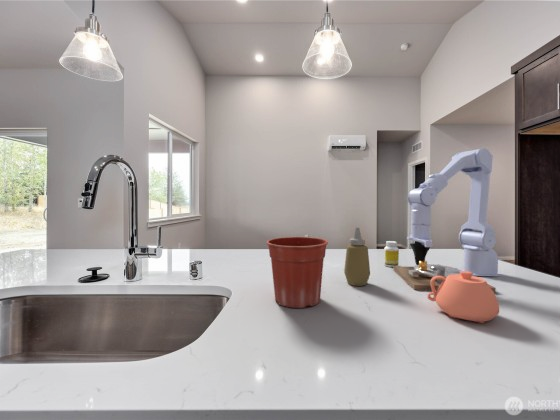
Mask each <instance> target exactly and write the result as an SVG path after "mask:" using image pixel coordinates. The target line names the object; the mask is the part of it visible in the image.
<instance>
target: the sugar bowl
mask: <svg viewBox="0 0 560 420" xmlns="http://www.w3.org/2000/svg"><path fill="white" fill-rule="evenodd" d="M472 275H473V273H472V272H469V271H460V274H451V275H449V276H447V277H446V278H445V277H443V276H435V277H433V278H432V279H431V282H430V284H431V288H432V292H431V291H430V292H428V293H427V299H428V300H430V301H431V302H436V304H437V306H438V307H439V308H440V310H441V311H442V312H444V313H446V314H447V315H448V317H450V318H453V319H454V318H455V319H461V320H465V321H470V322H475V323H480V324H484V323H485V322H489V321H491V320H493V319H494V318H496V317H497V316H499V313H500V304H499V300H498V298H497V296H496V293H494V292H493V291H492V289H491V288H490V286H489V285H490V284H489V283H488V282H487V281H486V280H485V279H484V278H482V277H480V276H472ZM436 279H442V280H444V281H443V282H442V283H441V285H440V286H439V288H438V290H437V291H436V290H435V287H434V281H435V280H436ZM488 284H489V285H488ZM431 295H432V296H433V297H431Z"/></svg>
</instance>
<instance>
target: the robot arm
mask: <svg viewBox="0 0 560 420" xmlns="http://www.w3.org/2000/svg"><path fill="white" fill-rule="evenodd" d="M492 168H493V154H492V153H491V151H490V150H489V149H488V148H486V147H481V148H479V149H478V148H477V149H474V150H467V151H459V152H457V153H456V154H455V155H453V156H452V157H451V160H450V162H449V163H448V164H447V165H446V166H445V167H444V168H442V169H441V171H440V172H439V173H433V174H430V175H428V179H426V180H424V182H423V183H420V184H419V187H418V188H413V189H412V190H410V192H409V193H408V196H407V198H406V199H407V202H408V204H409V209H410V211H411V212H410V220H411V221H410V223H411V224H410V234H409V236H407V237H406V239H407V240H408V241H413V242H414V243H413V242H411V243H409V245H410V248H411V249H412V251H413V255H414V261H415V262H414V263H415V266H416V265H419V260H424V261H426V256H427V254H428V252H429V250H430V249H431V248H433V242H434V241H433V240H432V237H431V228H432V227H431V225H432V223H431V221H432V218H431V216H432V205H434V204H435V202H436V200H437V196H438V195H439V194H440V193H441V192H442V191H443V190H444V189H445V188H446V187H447V186H448V185H449V184H448V183H449V180H450V179H451V178H453V177H454V176H455V175H457V174H458V173H459V172H461V173H463V174H465V175H467V176H469V178H471V179H470V191H469V192H470V193H469V205H468V217H467V218H468V219H467V221H466V222H465V223H464V224H462V225H461V227H460V232H459V233H458V242H459V244H461V245H460V246H461V248H463V268H458V269H459V270H461V271H469V272H472V273H473V275H472V276H476V277H500V274H499V273H498V271H499V269H498V268H499V257H498V253H497V252H496V251H495V250H494V249H493V248H494V247H495V246H496V243H497V240H496V239H497V238H496V235H495V228H494V227H493V226H491V225H490V224H489V223H488V222H487V220H488V207H489V193H490V182H491V172H492Z"/></svg>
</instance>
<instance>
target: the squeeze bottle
mask: <svg viewBox="0 0 560 420" xmlns="http://www.w3.org/2000/svg"><path fill="white" fill-rule="evenodd" d="M365 244H366V239H365V238H362V234H361V229H360V227H355V229H354V233H353V236H352V238H349V245H347V246H346V252H345V261H344V263H345V264H344V269H343V270H344V271H343V272H344V276H345V279H346V281H347V284H349V285H351V286H355V287H356V286H357V287H361V286H363V287H364V286H366V285H367V284H368V281H369V278H370V276H371V270H370V269H371V268H370V257H369V256H370V255H369V248H368V246H367V245H365Z"/></svg>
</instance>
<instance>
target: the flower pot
mask: <svg viewBox="0 0 560 420" xmlns="http://www.w3.org/2000/svg"><path fill="white" fill-rule="evenodd" d="M328 244H329V240H327V239H324V238H320V237H311V236H289V237H288V236H285V237H283V236H282V237H275V238H271V239H268V240H267V241H266V245H267V246H268V251H269V258H271V259H270V261H271V270H272V272H271V273H272V280H273V290H274V301H275V302H277V303H278V304H279V305H281V306H283V307H287V308H291V309H305V308H306V307H308V306H310V307H314V306H316V305H318V304H319V303H320V301H321V294H322V279H323V272H324V271H323V270H324V269H323V268H324V261H325V256H326V252H327V251H326V250H327V245H328Z"/></svg>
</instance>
